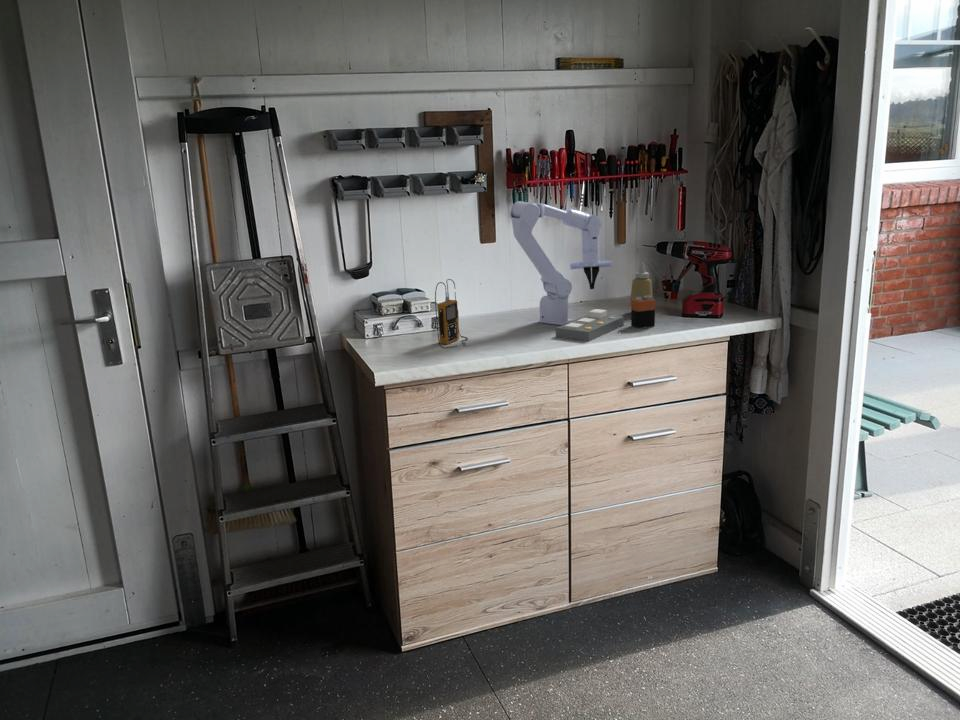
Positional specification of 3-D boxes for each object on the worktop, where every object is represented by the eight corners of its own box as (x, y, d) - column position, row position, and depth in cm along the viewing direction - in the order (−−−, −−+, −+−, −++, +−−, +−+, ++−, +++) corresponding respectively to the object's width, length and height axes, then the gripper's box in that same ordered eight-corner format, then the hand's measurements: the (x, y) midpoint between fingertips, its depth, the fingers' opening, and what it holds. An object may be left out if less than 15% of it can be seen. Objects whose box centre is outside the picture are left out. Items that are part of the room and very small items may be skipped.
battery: (655, 326, 259) (655, 296, 256) (636, 328, 257) (637, 298, 254) (648, 323, 263) (649, 294, 260) (630, 325, 261) (630, 296, 258)
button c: (589, 320, 262) (589, 311, 261) (595, 317, 266) (595, 308, 265) (600, 321, 260) (600, 312, 259) (607, 318, 263) (607, 310, 262)
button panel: (555, 336, 250) (555, 327, 249) (591, 321, 269) (591, 312, 268) (588, 341, 243) (588, 331, 243) (623, 325, 262) (623, 315, 261)
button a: (564, 334, 250) (564, 325, 249) (571, 331, 254) (571, 322, 253) (576, 336, 248) (576, 327, 247) (583, 333, 251) (583, 324, 250)
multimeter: (459, 350, 239) (456, 286, 234) (432, 347, 244) (429, 283, 239) (484, 339, 251) (482, 277, 245) (458, 336, 256) (455, 276, 251)
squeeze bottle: (635, 309, 284) (636, 260, 279) (656, 311, 280) (657, 261, 275) (625, 313, 278) (626, 263, 273) (647, 316, 273) (648, 265, 269)
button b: (577, 329, 256) (577, 320, 256) (583, 326, 260) (583, 317, 259) (589, 330, 254) (589, 321, 253) (595, 328, 257) (595, 319, 256)
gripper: (569, 252, 266) (571, 291, 269) (612, 250, 264) (613, 289, 268) (569, 249, 272) (571, 287, 276) (611, 247, 271) (612, 285, 275)
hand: (592, 288), depth 272 cm, fingers closed
